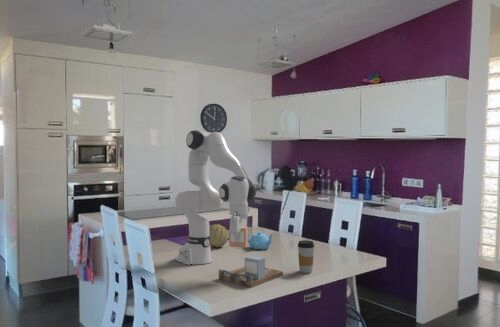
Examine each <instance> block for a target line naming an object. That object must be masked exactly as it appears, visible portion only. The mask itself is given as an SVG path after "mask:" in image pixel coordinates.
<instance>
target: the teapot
mask: <svg viewBox="0 0 500 327" xmlns="http://www.w3.org/2000/svg"><path fill="white" fill-rule="evenodd" d="M273 236H274V233H271V234H270V235H269V238H268V236H267V235H266V234H265V233H262V232H261V231H257V232H256V233H253V234H252V235H251V237H250V233H249V232H248V247H249V248H250V249H251V248H253V249H252V250H255V249H264V250H267V249H269V248H270V246H271V244H272V240H273Z"/></svg>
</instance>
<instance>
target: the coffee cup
mask: <svg viewBox="0 0 500 327" xmlns="http://www.w3.org/2000/svg"><path fill="white" fill-rule="evenodd" d="M297 251H298V254H297V255H298V265H299V272H300V273H302V274H311V273H312V272H313V266H314V252H315V244H314V241H313V240H305V239H304V240H303V239H302V240H299V241H298V243H297Z"/></svg>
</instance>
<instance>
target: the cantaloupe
mask: <svg viewBox="0 0 500 327" xmlns="http://www.w3.org/2000/svg"><path fill="white" fill-rule="evenodd" d="M209 235H210V247H211V246H212V248H214V247H216V248H221V247H223V246H225V244H226V243H227V242H228V240H229V231H228V230H227V227H225V226H223V225H221V224H220V223H219V222H218V223H217V224H216V223H215V224H211V225H209Z"/></svg>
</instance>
